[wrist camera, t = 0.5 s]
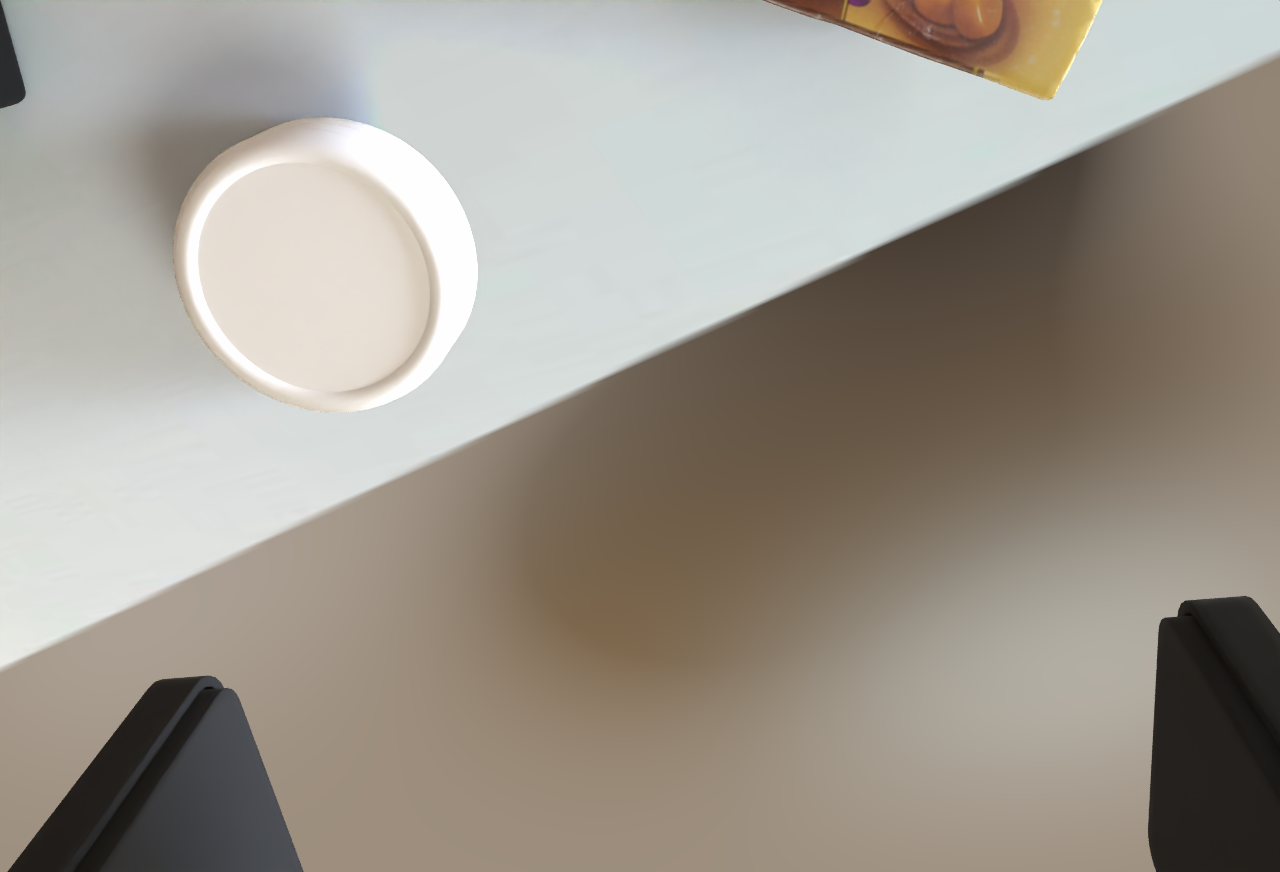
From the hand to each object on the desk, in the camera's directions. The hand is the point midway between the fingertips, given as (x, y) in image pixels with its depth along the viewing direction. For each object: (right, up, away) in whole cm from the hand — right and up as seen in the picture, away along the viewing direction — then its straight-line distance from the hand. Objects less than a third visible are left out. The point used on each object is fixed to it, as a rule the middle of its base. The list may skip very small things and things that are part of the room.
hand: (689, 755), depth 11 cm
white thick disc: (-11, +10, +29) cm, 33 cm away
